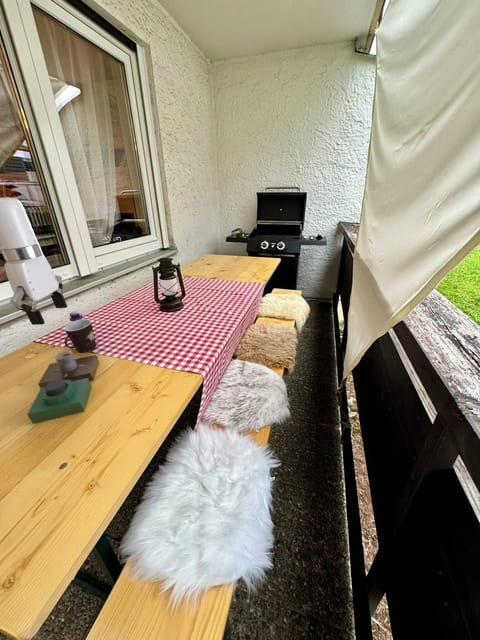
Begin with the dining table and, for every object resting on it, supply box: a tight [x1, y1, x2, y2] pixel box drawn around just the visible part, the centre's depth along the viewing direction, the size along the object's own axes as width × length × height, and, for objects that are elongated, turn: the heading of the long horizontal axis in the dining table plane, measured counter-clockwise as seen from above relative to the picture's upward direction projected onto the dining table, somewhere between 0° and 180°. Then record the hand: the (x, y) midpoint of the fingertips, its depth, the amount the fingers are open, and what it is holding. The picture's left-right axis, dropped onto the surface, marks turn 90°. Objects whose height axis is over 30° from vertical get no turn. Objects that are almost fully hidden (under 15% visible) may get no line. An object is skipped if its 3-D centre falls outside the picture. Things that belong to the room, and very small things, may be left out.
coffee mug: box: [63, 318, 97, 354], centre depth 93 cm, size 12×9×10 cm
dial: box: [54, 350, 77, 373], centre depth 80 cm, size 4×4×5 cm
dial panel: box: [38, 354, 100, 389], centre depth 82 cm, size 14×10×3 cm
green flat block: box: [27, 378, 93, 425], centre depth 70 cm, size 12×10×6 cm
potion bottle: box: [68, 310, 84, 330], centre depth 99 cm, size 9×9×12 cm
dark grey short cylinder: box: [45, 379, 67, 396], centre depth 69 cm, size 4×4×2 cm
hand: (51, 315), depth 71 cm, fingers open, 9 cm apart
